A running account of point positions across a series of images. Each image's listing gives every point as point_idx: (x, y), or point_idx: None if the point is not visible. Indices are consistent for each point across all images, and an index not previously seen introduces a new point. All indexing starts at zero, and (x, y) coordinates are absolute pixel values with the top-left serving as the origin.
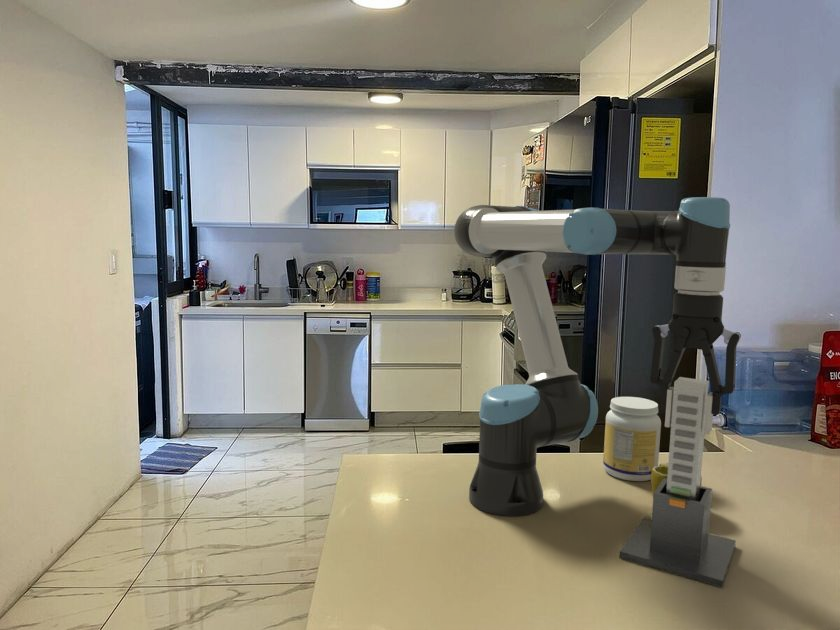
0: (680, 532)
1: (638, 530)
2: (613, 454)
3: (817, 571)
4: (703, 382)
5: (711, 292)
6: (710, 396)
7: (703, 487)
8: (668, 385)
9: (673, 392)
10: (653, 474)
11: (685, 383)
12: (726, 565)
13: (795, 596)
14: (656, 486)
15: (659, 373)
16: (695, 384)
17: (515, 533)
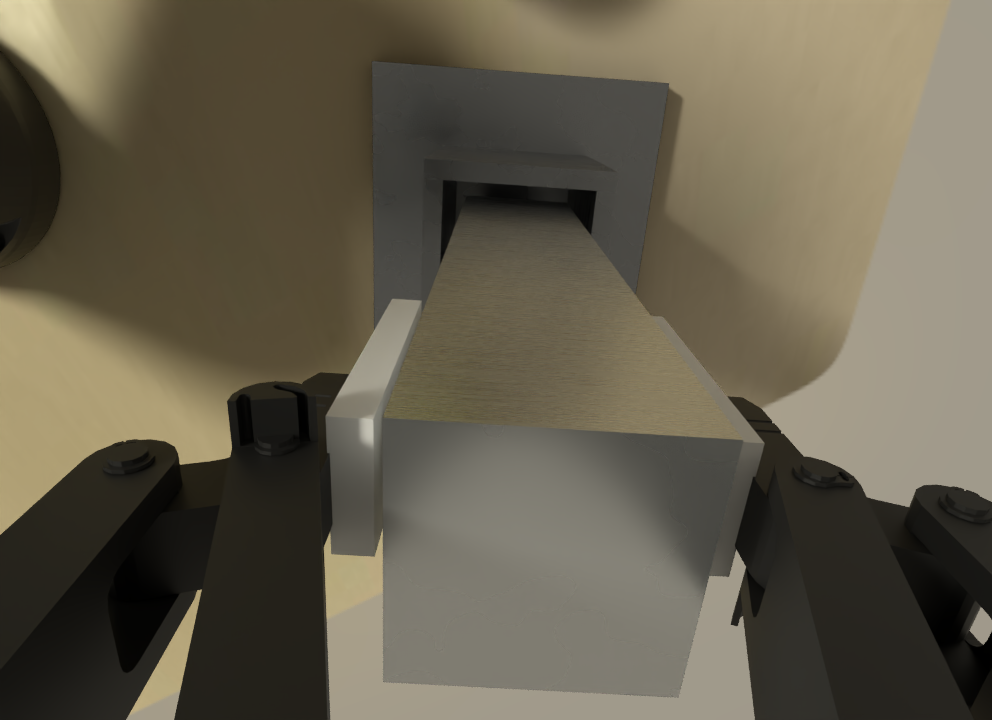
0: None
1: (385, 182)
2: None
3: (875, 124)
4: (676, 562)
5: None
6: (712, 569)
7: (585, 178)
8: (323, 561)
9: (380, 462)
10: None
11: (496, 686)
12: (635, 272)
13: (782, 300)
14: None
15: (135, 532)
16: (594, 680)
17: (99, 345)
